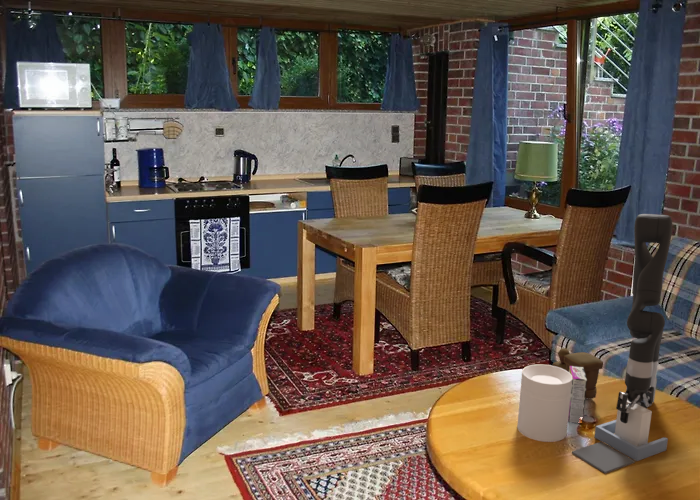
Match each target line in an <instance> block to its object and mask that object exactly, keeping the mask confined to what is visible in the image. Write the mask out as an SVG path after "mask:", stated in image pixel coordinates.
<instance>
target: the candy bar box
mask: <svg viewBox="0 0 700 500" xmlns="http://www.w3.org/2000/svg"><path fill="white" fill-rule="evenodd" d="M569 373H570V374H571V375H572V388H571V397H570V407H569V416H568V423H571V424H579V423H578V422H579V418H580V417H583V418H584V414H585V404H586V399H585V395H586V385H587V379H586V375H585V371H584V368H583V367H577V366H569Z"/></svg>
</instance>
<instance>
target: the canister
mask: <svg viewBox="0 0 700 500" xmlns="http://www.w3.org/2000/svg"><path fill="white" fill-rule="evenodd" d="M520 379H521V381H520V391H519V392H520V393H519V403H518V405H519V406H518V416H517V430H518V431H519V433H520V434H522V435H523V436H524V437H526V438H529V439H531V440H535V441H536V442H537V441H538V442H544V443H554V442H559V441H561V440H564V439H565V438H566V436H567V434H568V424H569V421H568V416H569V407H570V397H571V388H572V375H571V374H570V373H569V372H568V371H566V370H564V369H562V368H559V367H556V366H553V364H552V365H551V364H536V363H535V364H529V365H527V366H525V367H524V368H523V369H522V371H521V378H520Z"/></svg>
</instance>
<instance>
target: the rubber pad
mask: <svg viewBox="0 0 700 500" xmlns="http://www.w3.org/2000/svg"><path fill="white" fill-rule="evenodd" d="M571 454H572V455H574V456H576V457H577V458H579V459H581V460H582V461H584V462H585V463H587V464H589V465H590V466H592V467H593V468H595V469H596V470H598V471H600V472H602V473H604V474H607V473H608V474H609V473H611V472H613V471H616V470H619V469H622V468H624V467H628V466H629V465H632V464H635V463H636V461H635V460H634V459H632V458H630V457H628V456H627V455H625V454H623V453H621V452H619V451H618V450H616V449H614V448H612V447H611V446H609V445H607V444H605V443H604V442H602V441H599V442H596V443H593V444H589V445H587V446H584V447H580V448H578V449H575V450H572V451H571Z"/></svg>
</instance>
